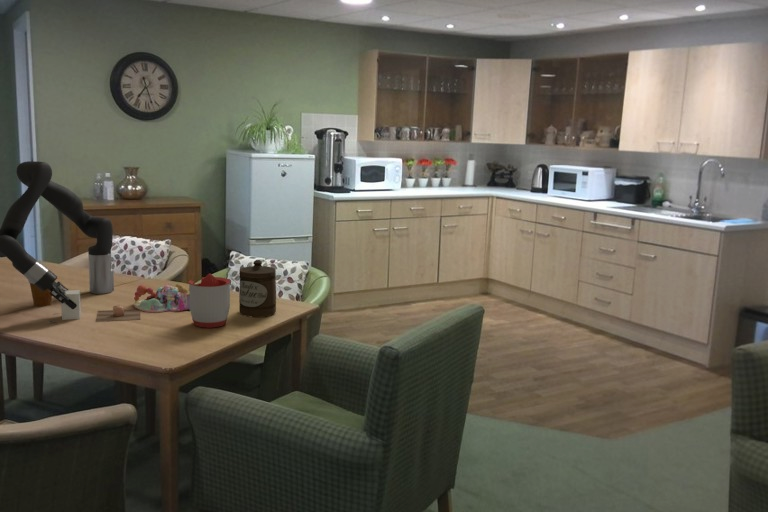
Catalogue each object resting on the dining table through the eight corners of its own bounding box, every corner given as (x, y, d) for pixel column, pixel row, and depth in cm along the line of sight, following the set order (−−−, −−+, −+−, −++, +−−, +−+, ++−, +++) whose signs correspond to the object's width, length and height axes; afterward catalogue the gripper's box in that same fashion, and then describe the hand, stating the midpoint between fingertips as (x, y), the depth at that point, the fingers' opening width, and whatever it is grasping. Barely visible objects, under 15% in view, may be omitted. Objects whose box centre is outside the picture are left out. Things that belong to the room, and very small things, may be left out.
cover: (63, 315, 272) (62, 290, 270) (81, 314, 274) (80, 290, 272) (62, 320, 266) (60, 294, 264) (79, 319, 268) (78, 293, 266)
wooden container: (232, 314, 285) (232, 261, 281) (251, 306, 299) (252, 255, 295) (263, 319, 280) (264, 265, 276) (282, 310, 294) (283, 259, 290)
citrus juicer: (206, 315, 282) (206, 266, 278) (239, 323, 273) (239, 273, 269) (176, 324, 269) (176, 273, 265) (210, 332, 260) (210, 279, 256)
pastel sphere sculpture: (174, 296, 309) (174, 275, 308) (210, 306, 296) (210, 285, 294) (124, 305, 289) (124, 283, 287) (160, 316, 276) (160, 293, 274)
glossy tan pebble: (119, 313, 278) (118, 304, 277) (126, 315, 276) (126, 306, 275) (111, 315, 274) (110, 306, 273) (118, 317, 272) (118, 308, 272)
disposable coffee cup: (45, 309, 281) (43, 279, 279) (24, 307, 283) (22, 277, 281) (60, 303, 290) (59, 275, 288) (40, 301, 292) (38, 273, 290)
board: (97, 312, 280) (97, 310, 280) (140, 310, 285) (140, 309, 285) (95, 323, 265) (95, 322, 265) (140, 321, 270) (140, 319, 270)
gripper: (45, 273, 257) (81, 303, 263) (50, 265, 271) (84, 293, 277) (30, 287, 257) (67, 317, 263) (35, 279, 270) (70, 307, 276)
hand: (75, 305), depth 270 cm, fingers closed on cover, 6 cm apart
